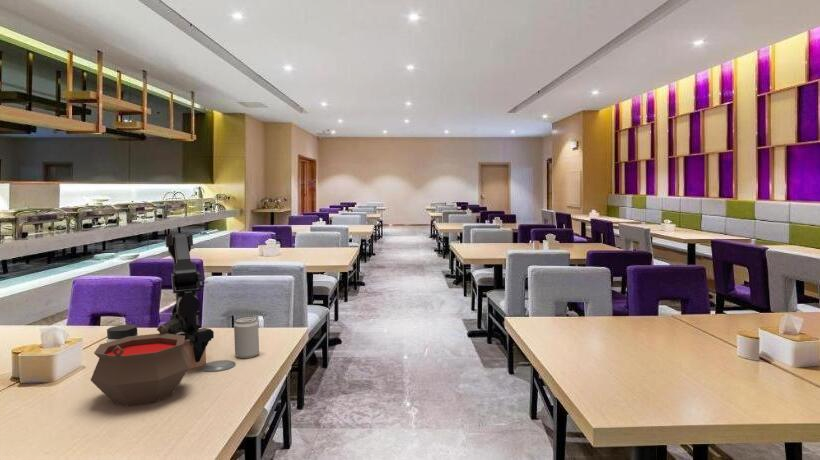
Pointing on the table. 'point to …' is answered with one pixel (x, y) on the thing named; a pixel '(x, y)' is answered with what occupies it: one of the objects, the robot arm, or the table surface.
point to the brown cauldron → (141, 367)
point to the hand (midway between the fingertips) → (189, 359)
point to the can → (246, 337)
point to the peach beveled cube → (190, 352)
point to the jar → (121, 332)
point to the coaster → (217, 366)
